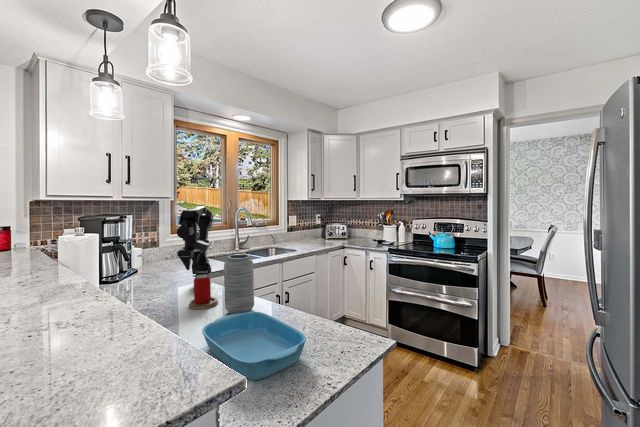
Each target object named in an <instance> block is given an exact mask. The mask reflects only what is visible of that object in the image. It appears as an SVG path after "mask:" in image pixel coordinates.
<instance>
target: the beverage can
mask: <svg viewBox="0 0 640 427" xmlns="http://www.w3.org/2000/svg"><path fill="white" fill-rule="evenodd" d="M210 282H211V278H210V275H209V276H208V275H206V274H202V275H197V276H196V275H195V277H194V278H193V298H194V299H193V300H194V302H195V303H196V304H198V305H203V304H207V303H208V302H210V301H211V297H212V296H211V284H210Z"/></svg>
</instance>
